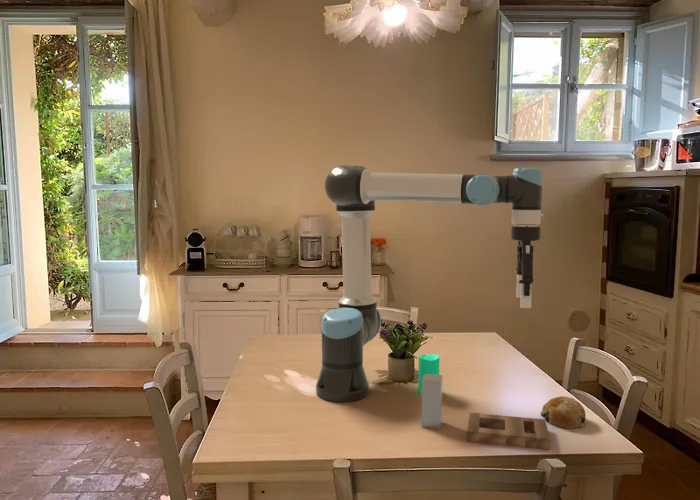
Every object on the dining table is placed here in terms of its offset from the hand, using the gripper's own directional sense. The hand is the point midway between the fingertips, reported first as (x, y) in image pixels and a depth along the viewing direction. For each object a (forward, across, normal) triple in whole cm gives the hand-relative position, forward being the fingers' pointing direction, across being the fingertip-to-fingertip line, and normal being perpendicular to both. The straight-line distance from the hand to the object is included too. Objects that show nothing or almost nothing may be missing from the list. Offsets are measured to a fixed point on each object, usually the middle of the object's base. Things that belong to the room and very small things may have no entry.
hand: (523, 302), depth 155 cm
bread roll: (+27, -14, -9) cm, 32 cm away
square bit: (+27, -24, +23) cm, 43 cm away
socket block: (+27, -26, +5) cm, 38 cm away
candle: (+27, -2, +25) cm, 37 cm away
